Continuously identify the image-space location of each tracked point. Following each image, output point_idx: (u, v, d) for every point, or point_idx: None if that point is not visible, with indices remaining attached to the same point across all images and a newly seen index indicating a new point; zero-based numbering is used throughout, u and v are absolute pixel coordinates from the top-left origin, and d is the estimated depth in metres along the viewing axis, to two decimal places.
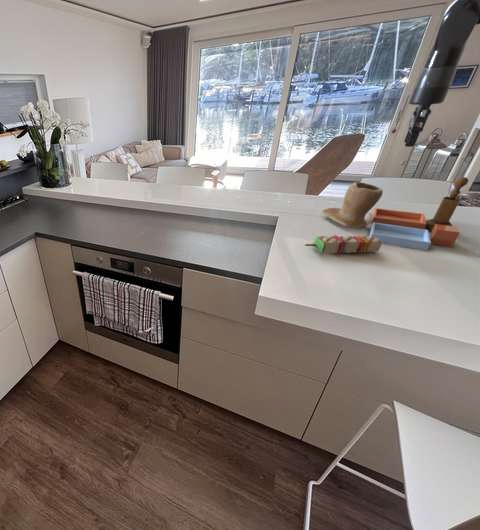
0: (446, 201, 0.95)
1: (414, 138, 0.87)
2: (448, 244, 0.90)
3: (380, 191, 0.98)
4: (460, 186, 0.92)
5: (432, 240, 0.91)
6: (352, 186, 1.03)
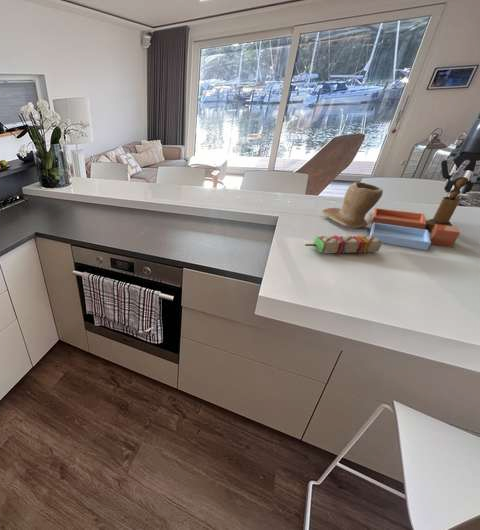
0: (446, 201, 0.95)
1: (446, 184, 0.94)
2: (448, 244, 0.90)
3: (380, 191, 0.98)
4: (460, 186, 0.92)
5: (432, 240, 0.91)
6: (352, 186, 1.03)
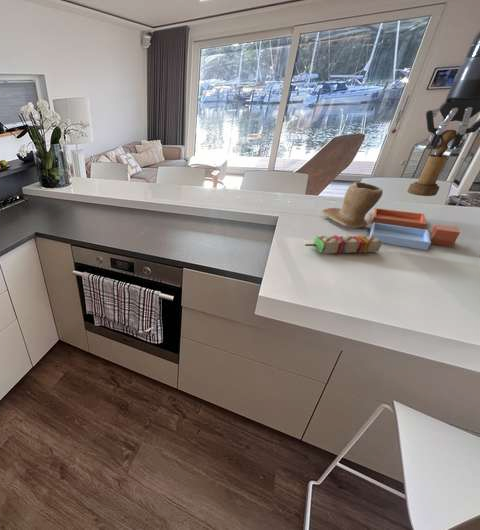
0: (432, 159, 0.83)
1: (432, 139, 0.83)
2: (448, 244, 0.90)
3: (380, 191, 0.98)
4: (447, 141, 0.81)
5: (432, 240, 0.91)
6: (352, 186, 1.03)
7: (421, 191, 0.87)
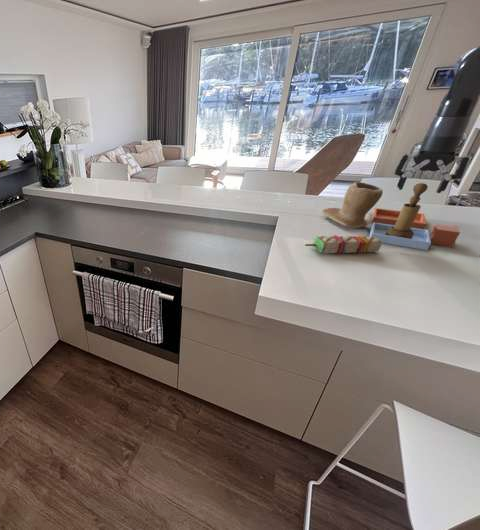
0: (406, 208, 0.90)
1: (399, 181, 0.90)
2: (448, 244, 0.90)
3: (380, 191, 0.98)
4: (419, 193, 0.88)
5: (432, 240, 0.91)
6: (352, 186, 1.03)
7: (397, 236, 0.94)
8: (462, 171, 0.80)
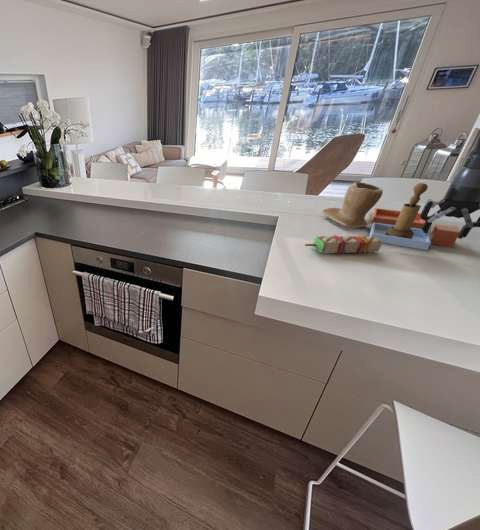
0: (406, 208, 0.90)
1: (424, 225, 0.92)
2: (448, 244, 0.90)
3: (380, 191, 0.98)
4: (419, 193, 0.88)
5: (432, 240, 0.91)
6: (352, 186, 1.03)
7: (397, 236, 0.94)
8: None
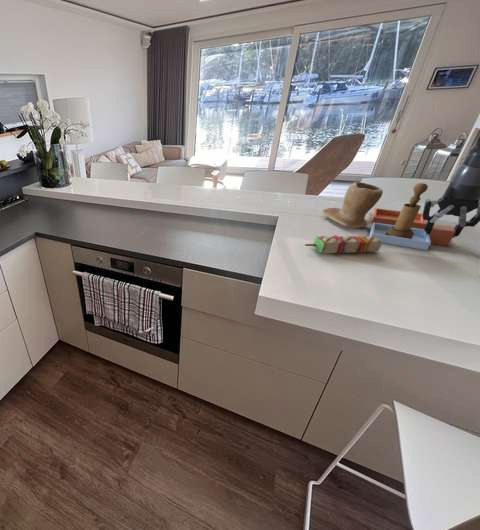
0: (406, 208, 0.90)
1: (426, 225, 0.92)
2: (444, 244, 0.90)
3: (380, 191, 0.98)
4: (419, 193, 0.88)
5: None
6: (352, 186, 1.03)
7: (397, 236, 0.94)
8: (478, 220, 0.84)
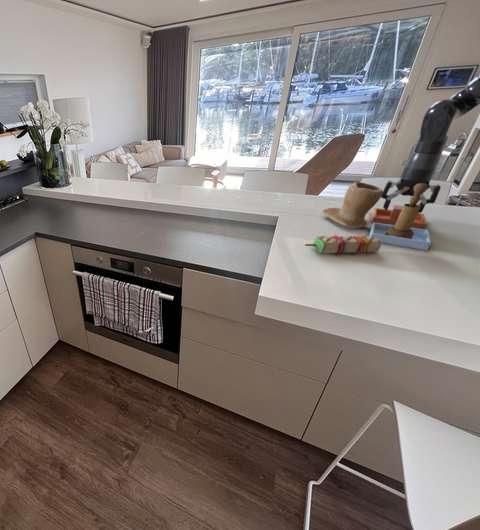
0: (406, 208, 0.90)
1: (384, 203, 1.07)
2: None
3: (380, 191, 0.98)
4: (419, 193, 0.88)
5: (390, 218, 1.06)
6: (352, 186, 1.03)
7: (397, 236, 0.94)
8: (435, 197, 0.97)
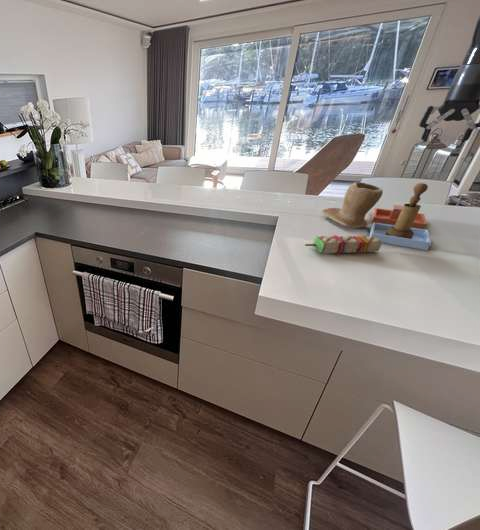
0: (406, 208, 0.90)
1: (423, 133, 0.93)
2: None
3: (380, 191, 0.98)
4: (419, 193, 0.88)
5: (390, 218, 1.06)
6: (352, 186, 1.03)
7: (397, 236, 0.94)
8: None
